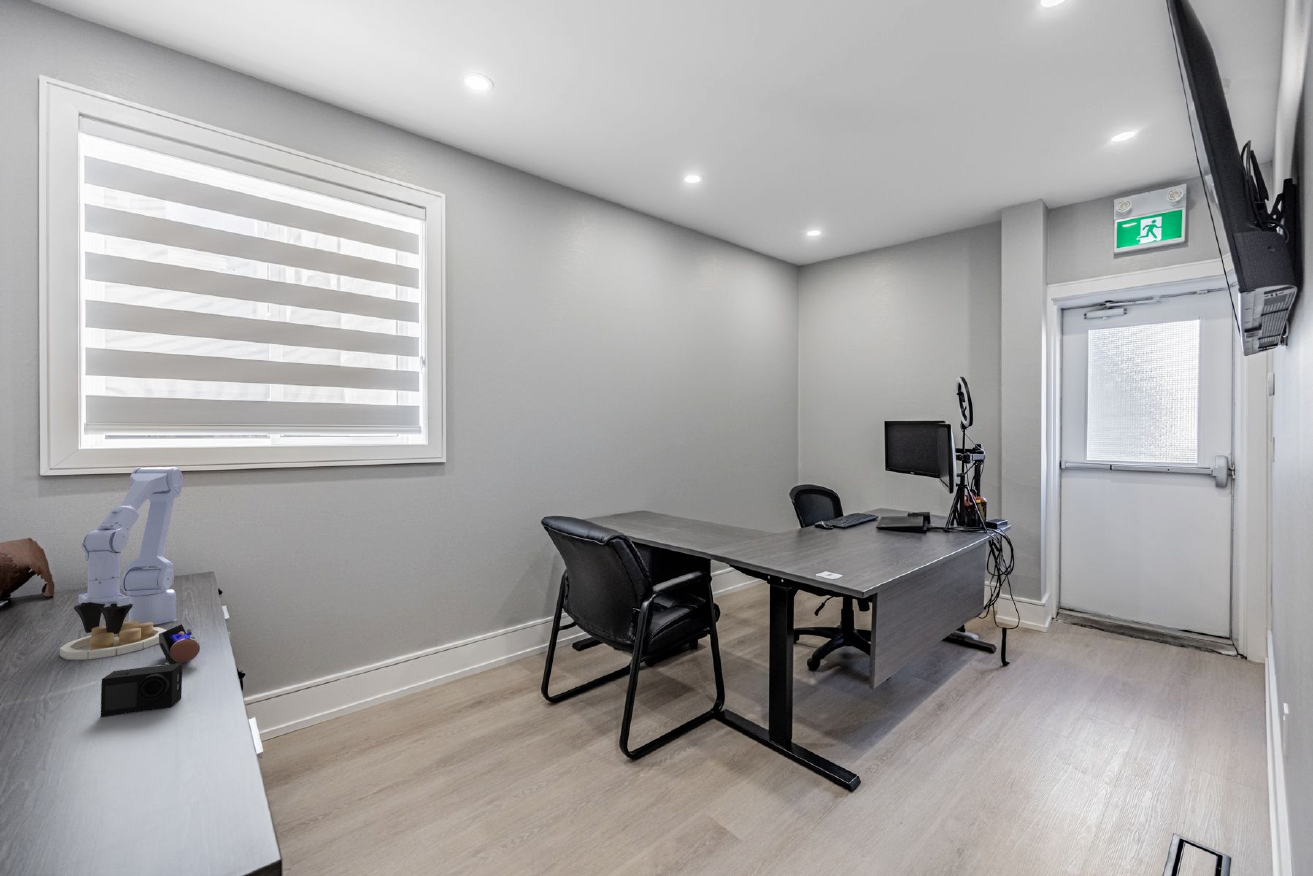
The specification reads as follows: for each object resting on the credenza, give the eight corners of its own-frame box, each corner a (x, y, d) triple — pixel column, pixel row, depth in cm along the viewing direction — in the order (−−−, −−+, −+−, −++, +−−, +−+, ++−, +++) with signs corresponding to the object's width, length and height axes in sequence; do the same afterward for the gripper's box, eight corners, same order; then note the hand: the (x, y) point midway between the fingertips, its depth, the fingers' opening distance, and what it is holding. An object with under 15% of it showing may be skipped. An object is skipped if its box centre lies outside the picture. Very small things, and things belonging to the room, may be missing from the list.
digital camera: (95, 721, 97) (96, 681, 97) (112, 707, 102) (113, 670, 102) (168, 710, 101) (169, 672, 101) (181, 698, 106) (182, 662, 106)
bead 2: (140, 638, 138) (141, 622, 138) (120, 642, 135) (120, 626, 135) (136, 635, 140) (136, 619, 140) (116, 639, 137) (116, 623, 137)
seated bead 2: (137, 643, 134) (137, 627, 135) (143, 646, 133) (143, 629, 133) (116, 648, 131) (116, 631, 131) (122, 650, 129) (122, 634, 129)
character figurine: (196, 651, 132) (197, 670, 121) (155, 656, 127) (153, 676, 116) (200, 618, 132) (202, 634, 121) (160, 622, 128) (158, 639, 116)
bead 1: (110, 640, 137) (110, 624, 137) (115, 642, 135) (115, 626, 135) (88, 644, 134) (89, 628, 134) (94, 647, 132) (94, 630, 132)
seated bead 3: (149, 637, 139) (149, 621, 139) (155, 639, 137) (155, 623, 137) (129, 641, 136) (129, 625, 136) (135, 644, 134) (135, 628, 134)
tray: (148, 631, 145) (149, 623, 145) (177, 643, 136) (177, 634, 137) (50, 652, 130) (50, 643, 130) (76, 667, 121) (76, 657, 121)
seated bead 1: (109, 648, 131) (110, 631, 131) (115, 651, 129) (116, 634, 129) (87, 653, 128) (88, 636, 128) (93, 656, 126) (94, 638, 126)
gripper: (63, 579, 133) (61, 635, 132) (105, 583, 129) (103, 640, 129) (99, 573, 140) (97, 626, 139) (139, 576, 136) (138, 631, 136)
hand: (102, 633), depth 134 cm, fingers open, 7 cm apart
